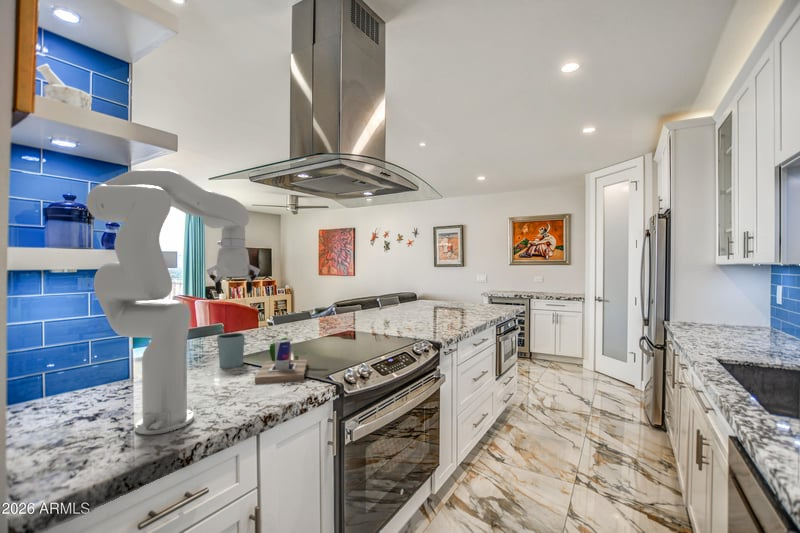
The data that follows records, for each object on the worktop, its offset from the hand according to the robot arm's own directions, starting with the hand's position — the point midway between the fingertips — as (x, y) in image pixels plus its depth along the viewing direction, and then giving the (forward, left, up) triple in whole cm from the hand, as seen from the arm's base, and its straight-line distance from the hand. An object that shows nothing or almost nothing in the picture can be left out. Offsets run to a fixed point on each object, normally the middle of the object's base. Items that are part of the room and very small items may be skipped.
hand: (233, 293), depth 126 cm
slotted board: (+4, -16, -30) cm, 34 cm away
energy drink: (+4, -16, -31) cm, 35 cm away
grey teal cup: (+19, +6, -31) cm, 36 cm away
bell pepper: (+19, -13, -31) cm, 38 cm away
